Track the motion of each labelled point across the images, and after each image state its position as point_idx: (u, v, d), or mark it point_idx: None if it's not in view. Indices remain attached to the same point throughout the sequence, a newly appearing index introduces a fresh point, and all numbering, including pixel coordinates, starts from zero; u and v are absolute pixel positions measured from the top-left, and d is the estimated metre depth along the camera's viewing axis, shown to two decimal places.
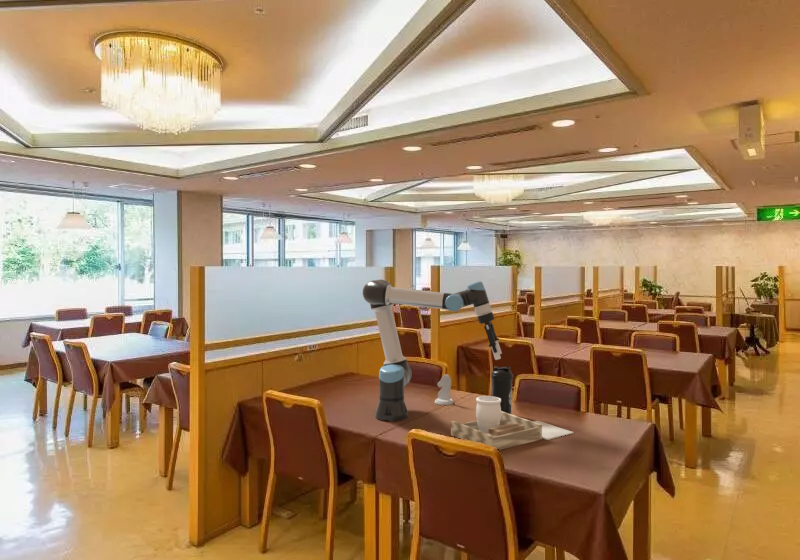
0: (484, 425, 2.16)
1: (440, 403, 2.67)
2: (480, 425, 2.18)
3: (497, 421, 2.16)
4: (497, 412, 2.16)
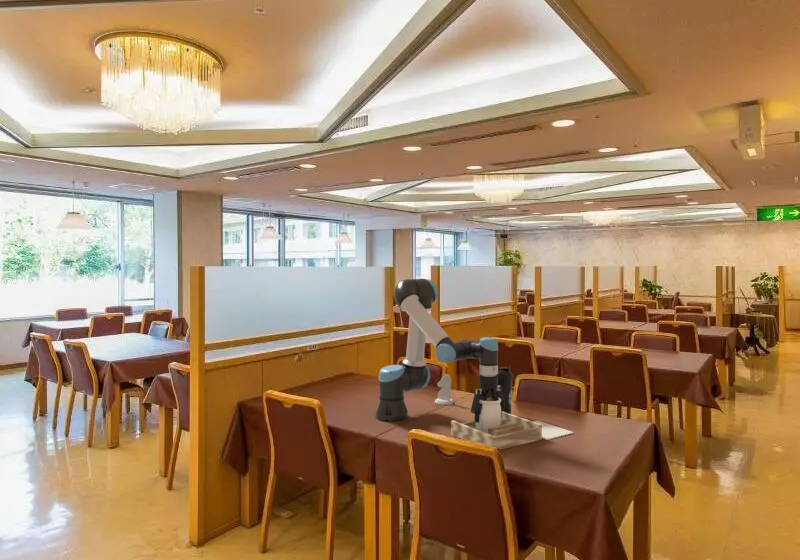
0: (484, 425, 2.16)
1: (440, 403, 2.67)
2: None
3: (497, 421, 2.16)
4: (497, 412, 2.16)
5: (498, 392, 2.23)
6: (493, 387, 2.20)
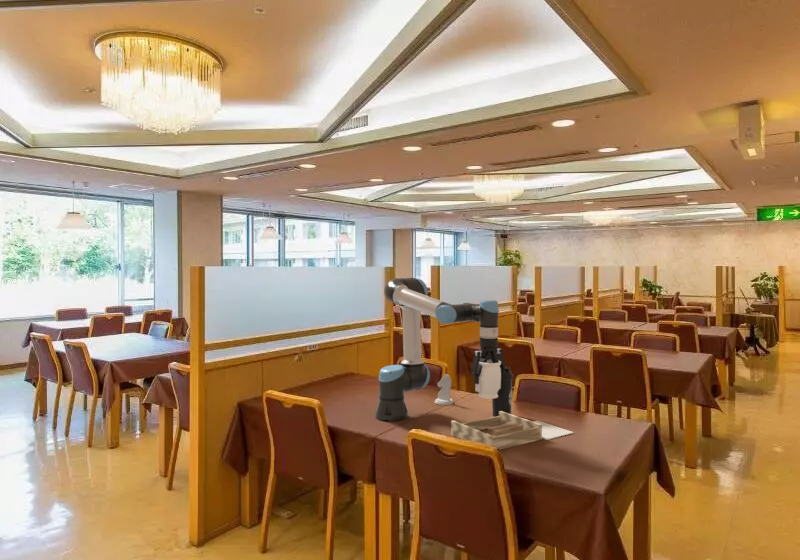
0: (484, 387, 2.16)
1: (440, 403, 2.67)
2: None
3: (497, 383, 2.16)
4: (497, 374, 2.16)
5: (498, 355, 2.23)
6: (493, 349, 2.19)
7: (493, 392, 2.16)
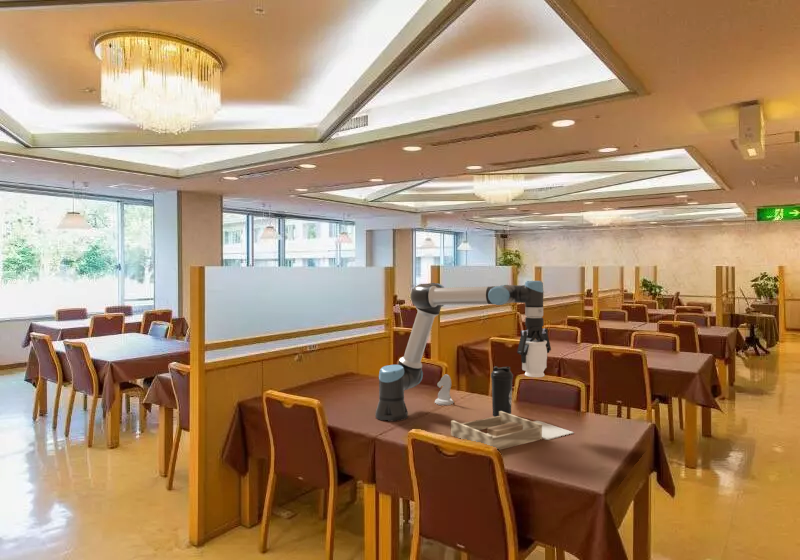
0: (531, 365, 2.19)
1: (440, 403, 2.67)
2: None
3: (544, 362, 2.20)
4: (544, 352, 2.19)
5: (543, 335, 2.27)
6: (539, 329, 2.23)
7: (540, 370, 2.20)
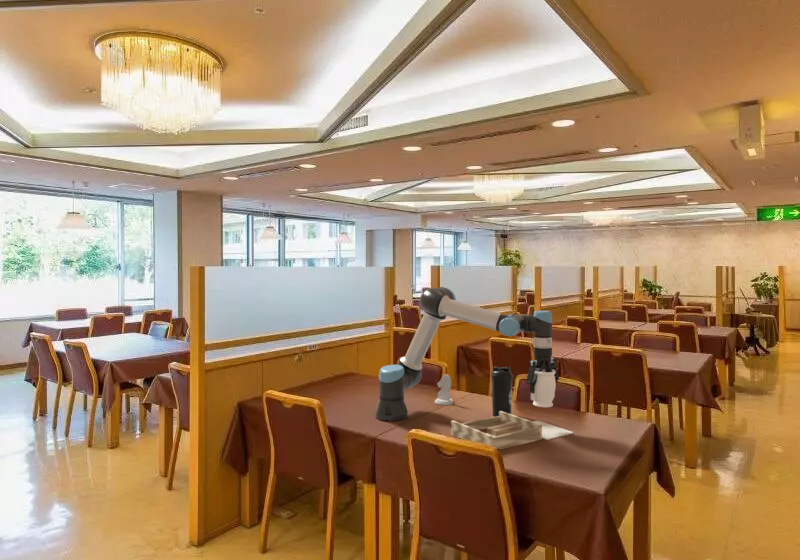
0: (539, 396, 2.21)
1: (440, 403, 2.67)
2: None
3: (552, 392, 2.21)
4: (552, 383, 2.21)
5: (551, 364, 2.28)
6: (547, 359, 2.25)
7: (549, 401, 2.21)
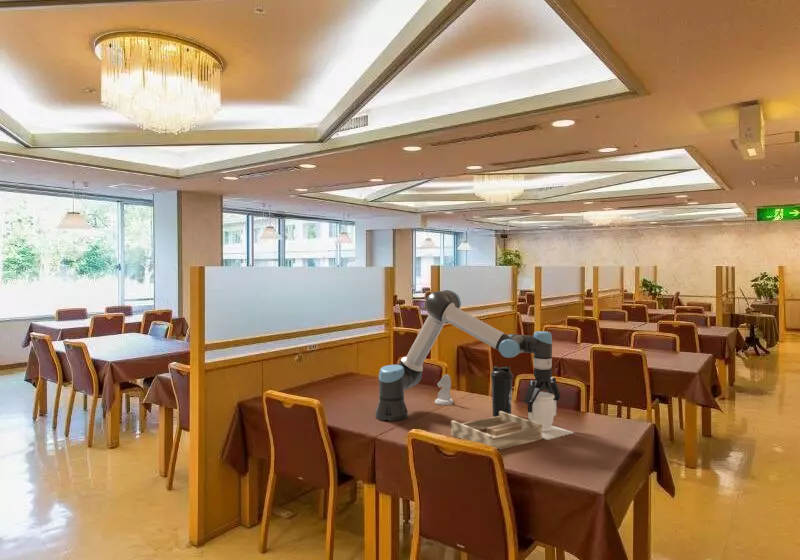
0: (538, 420, 2.21)
1: (440, 403, 2.67)
2: (534, 420, 2.23)
3: (551, 416, 2.21)
4: (551, 407, 2.21)
5: (552, 384, 2.28)
6: (547, 380, 2.25)
7: (548, 425, 2.21)
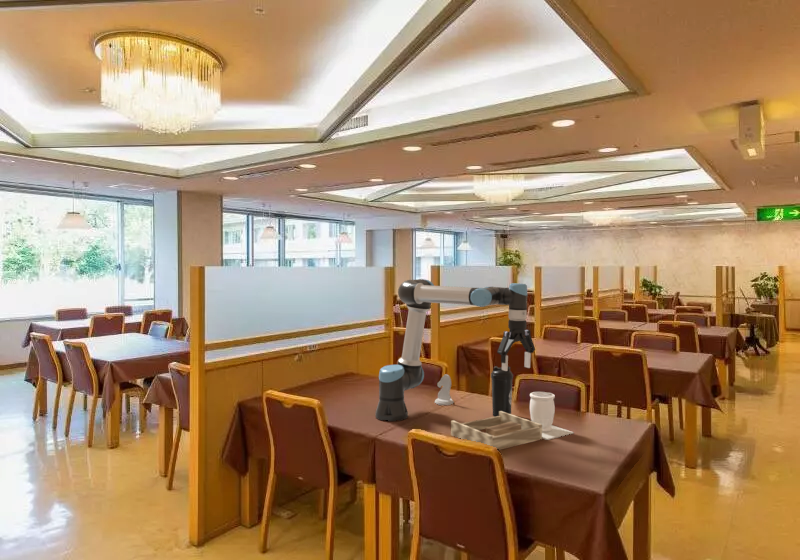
0: (539, 420, 2.21)
1: (440, 403, 2.67)
2: (534, 420, 2.23)
3: (551, 416, 2.21)
4: (551, 407, 2.21)
5: (526, 336, 2.28)
6: (521, 332, 2.25)
7: (548, 425, 2.21)
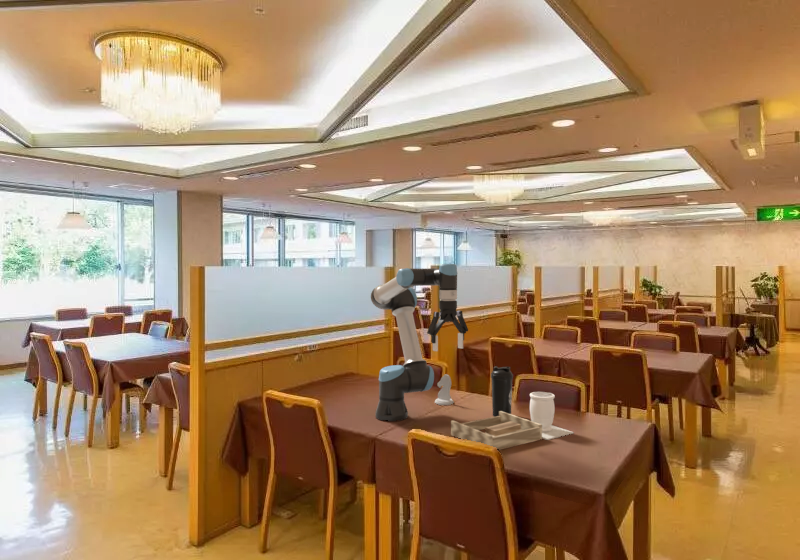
0: (539, 420, 2.21)
1: (440, 403, 2.67)
2: (534, 420, 2.23)
3: (551, 416, 2.21)
4: (551, 407, 2.21)
5: (458, 317, 2.28)
6: (452, 313, 2.25)
7: (548, 425, 2.21)
